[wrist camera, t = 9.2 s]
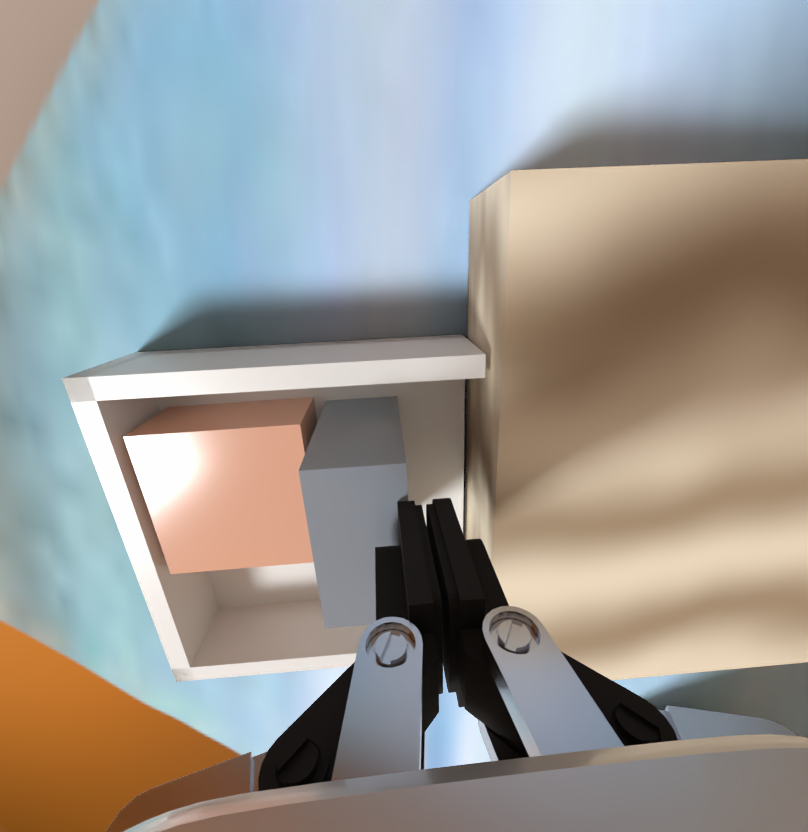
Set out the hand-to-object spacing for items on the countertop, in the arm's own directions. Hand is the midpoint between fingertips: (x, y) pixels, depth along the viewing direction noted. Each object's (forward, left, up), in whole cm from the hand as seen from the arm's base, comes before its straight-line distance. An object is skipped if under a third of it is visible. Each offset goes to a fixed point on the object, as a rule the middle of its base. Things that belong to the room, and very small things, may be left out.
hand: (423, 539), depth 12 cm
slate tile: (0, 0, -3) cm, 3 cm away
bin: (+2, -4, -7) cm, 8 cm away
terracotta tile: (0, -7, -3) cm, 8 cm away
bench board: (0, +13, -7) cm, 14 cm away
